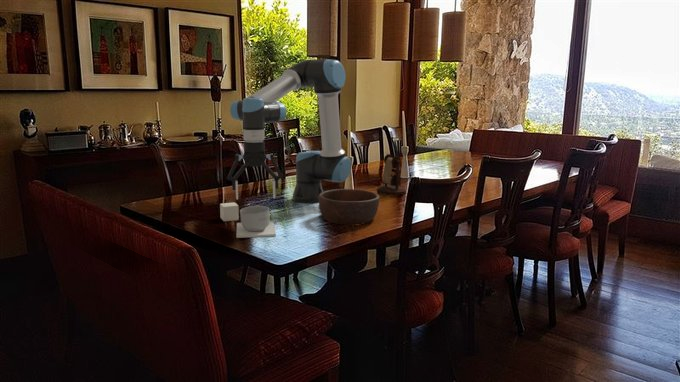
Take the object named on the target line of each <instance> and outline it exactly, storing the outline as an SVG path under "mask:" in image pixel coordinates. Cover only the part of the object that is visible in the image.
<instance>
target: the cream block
mask: <svg viewBox="0 0 680 382" xmlns="http://www.w3.org/2000/svg"><path fill="white" fill-rule="evenodd" d="M219 210H220V211H219V213H220V216H219V217H220V220H222V221H223V222H230V221H231V222H232V221H239V220H240V219H239V218H240V216H239V215H240V209H239V205H238V204H237V203H236V202H225V203H219Z"/></svg>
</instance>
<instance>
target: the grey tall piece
mask: <svg viewBox="0 0 680 382" xmlns="http://www.w3.org/2000/svg"><path fill="white" fill-rule="evenodd" d="M383 162H384V168H383V178H382V179H383V180H382V181H383V183H384V185H381V186H378V187H377V188H376V193H377V192H378V193H377V194H383V195H387V196H388V195H390V196H392V195H394V196H395V195H397V196H398V195H404V194H405V195H406V193H407V189H406V188H405V187H402V186H399V184H400V183H401V176H400V174H401V169H400V165H401V163H402V159H401V157H400V156H398V155H394V156H393V155H392V154H390V153H388V154H386V155H385V156H384V157H383ZM393 173H395V174H393Z"/></svg>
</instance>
